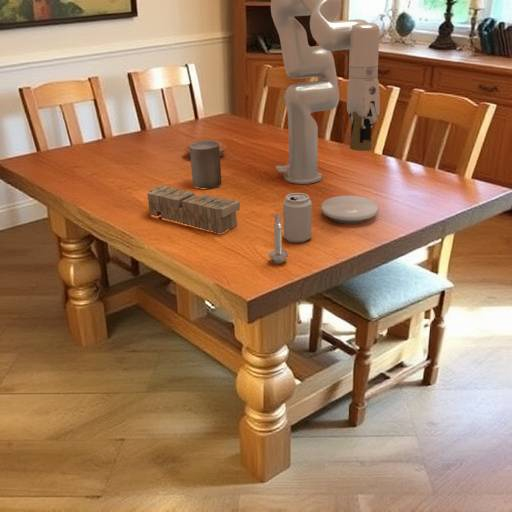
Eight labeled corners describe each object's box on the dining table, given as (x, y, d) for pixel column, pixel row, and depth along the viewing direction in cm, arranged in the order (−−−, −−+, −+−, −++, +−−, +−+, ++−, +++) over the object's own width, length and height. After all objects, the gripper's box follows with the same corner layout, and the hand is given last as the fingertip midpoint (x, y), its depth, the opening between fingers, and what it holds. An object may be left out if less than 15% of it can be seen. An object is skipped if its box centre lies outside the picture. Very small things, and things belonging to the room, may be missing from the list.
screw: (292, 260, 169) (279, 267, 166) (277, 255, 172) (264, 262, 169) (291, 212, 164) (278, 218, 161) (276, 208, 167) (263, 213, 164)
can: (282, 233, 185) (281, 192, 180) (309, 232, 186) (309, 190, 181) (285, 244, 179) (284, 202, 174) (313, 243, 179) (313, 200, 174)
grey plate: (319, 226, 189) (319, 214, 188) (323, 205, 204) (324, 194, 202) (377, 228, 187) (377, 216, 185) (378, 207, 201) (378, 196, 199)
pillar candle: (226, 181, 227) (224, 137, 220) (213, 191, 219) (209, 145, 212) (201, 179, 231) (198, 135, 224) (187, 188, 223) (183, 143, 216)
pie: (235, 153, 257) (234, 141, 254) (211, 165, 245) (210, 151, 243) (202, 148, 264) (201, 136, 262) (177, 159, 252) (176, 146, 250)
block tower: (146, 219, 201) (224, 236, 185) (143, 192, 198) (222, 207, 182) (164, 211, 207) (241, 227, 191) (161, 184, 203) (239, 198, 187)
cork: (373, 145, 190) (375, 106, 185) (369, 151, 185) (371, 111, 180) (352, 144, 192) (353, 105, 187) (347, 150, 187) (349, 110, 182)
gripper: (393, 76, 174) (389, 145, 182) (358, 66, 188) (356, 131, 196) (368, 79, 171) (365, 149, 179) (335, 69, 185) (333, 135, 193)
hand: (360, 139), depth 187 cm, fingers closed on cork, 3 cm apart
